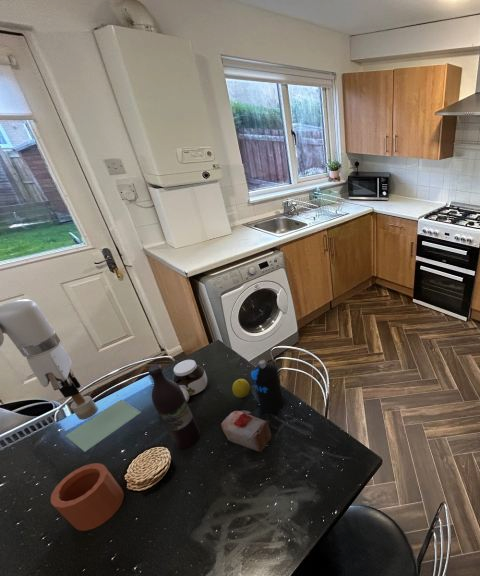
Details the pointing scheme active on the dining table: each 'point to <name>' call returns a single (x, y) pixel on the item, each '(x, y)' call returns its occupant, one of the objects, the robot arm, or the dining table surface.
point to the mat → (102, 425)
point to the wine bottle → (173, 409)
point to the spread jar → (190, 378)
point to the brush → (83, 405)
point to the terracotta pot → (88, 496)
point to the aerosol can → (268, 387)
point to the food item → (246, 430)
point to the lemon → (241, 388)
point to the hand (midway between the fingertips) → (73, 391)
